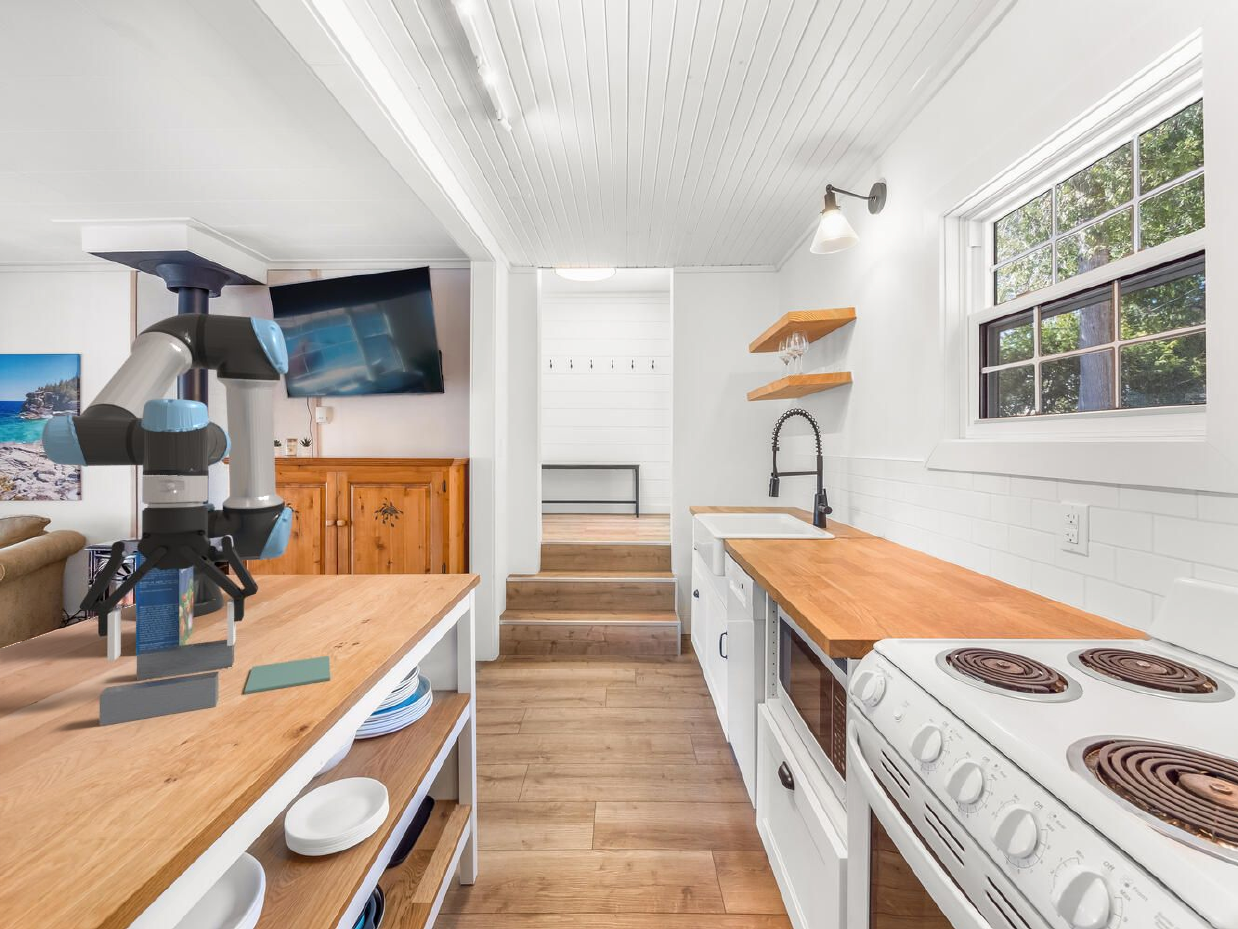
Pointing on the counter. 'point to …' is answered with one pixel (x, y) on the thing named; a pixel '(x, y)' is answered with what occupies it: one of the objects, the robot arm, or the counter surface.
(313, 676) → the mat
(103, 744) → the counter surface
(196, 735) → the counter surface
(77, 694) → the counter surface
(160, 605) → the blue food package
